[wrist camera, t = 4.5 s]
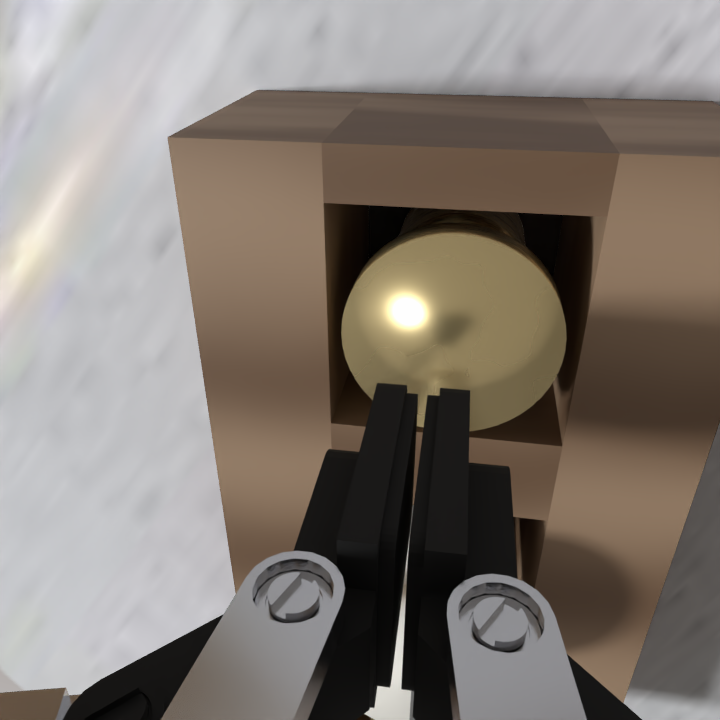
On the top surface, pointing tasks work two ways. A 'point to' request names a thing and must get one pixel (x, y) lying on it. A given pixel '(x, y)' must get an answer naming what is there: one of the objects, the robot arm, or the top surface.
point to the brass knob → (457, 314)
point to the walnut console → (572, 278)
